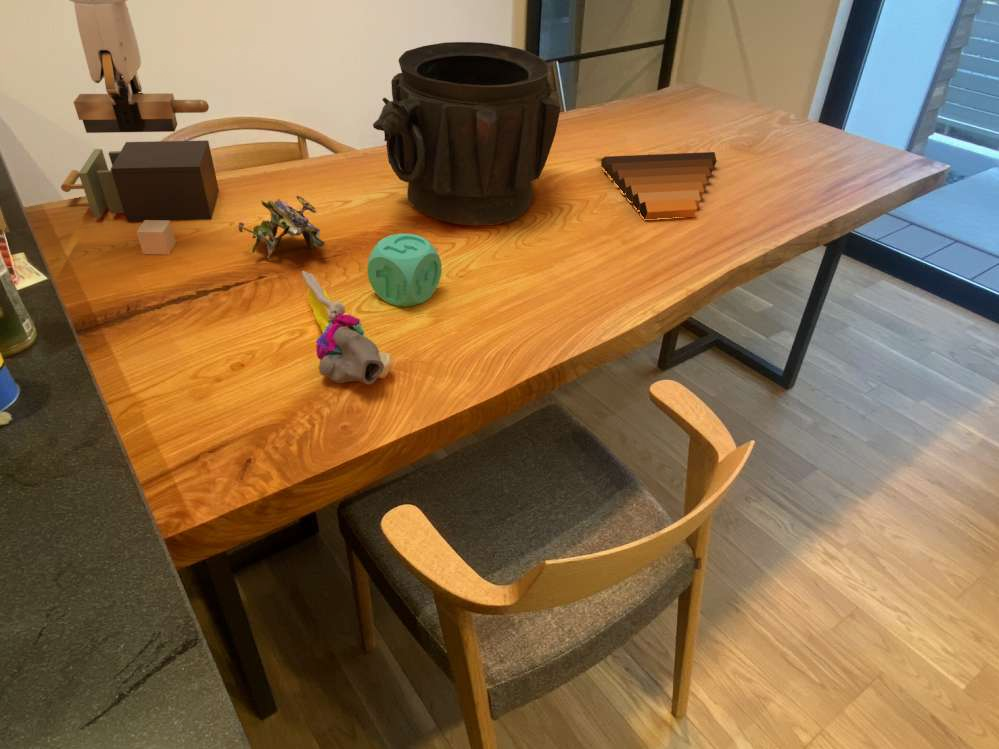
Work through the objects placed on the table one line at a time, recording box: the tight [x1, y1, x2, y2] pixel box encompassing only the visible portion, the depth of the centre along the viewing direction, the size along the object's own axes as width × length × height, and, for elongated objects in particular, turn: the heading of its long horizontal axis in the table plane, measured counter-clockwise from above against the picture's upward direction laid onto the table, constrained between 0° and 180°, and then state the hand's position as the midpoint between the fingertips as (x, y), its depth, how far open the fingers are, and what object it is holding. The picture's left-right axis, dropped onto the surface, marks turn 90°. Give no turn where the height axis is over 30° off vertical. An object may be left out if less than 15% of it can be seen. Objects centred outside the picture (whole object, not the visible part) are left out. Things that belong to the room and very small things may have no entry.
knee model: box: [301, 270, 393, 386], centre depth 93 cm, size 9×8×25 cm
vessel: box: [372, 41, 561, 226], centre depth 124 cm, size 31×32×25 cm
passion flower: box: [238, 195, 326, 262], centre depth 110 cm, size 11×11×12 cm
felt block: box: [135, 220, 177, 256], centre depth 110 cm, size 4×4×4 cm
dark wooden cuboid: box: [110, 140, 220, 223], centre depth 120 cm, size 14×12×10 cm
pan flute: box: [600, 151, 718, 219], centre depth 139 cm, size 25×3×25 cm
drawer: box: [60, 148, 125, 218], centre depth 119 cm, size 17×10×8 cm, turn 101°
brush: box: [73, 93, 210, 134], centre depth 101 cm, size 18×4×4 cm, turn 102°
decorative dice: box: [366, 233, 443, 307], centre depth 103 cm, size 8×8×8 cm
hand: (134, 124), depth 102 cm, fingers closed on brush, 3 cm apart
